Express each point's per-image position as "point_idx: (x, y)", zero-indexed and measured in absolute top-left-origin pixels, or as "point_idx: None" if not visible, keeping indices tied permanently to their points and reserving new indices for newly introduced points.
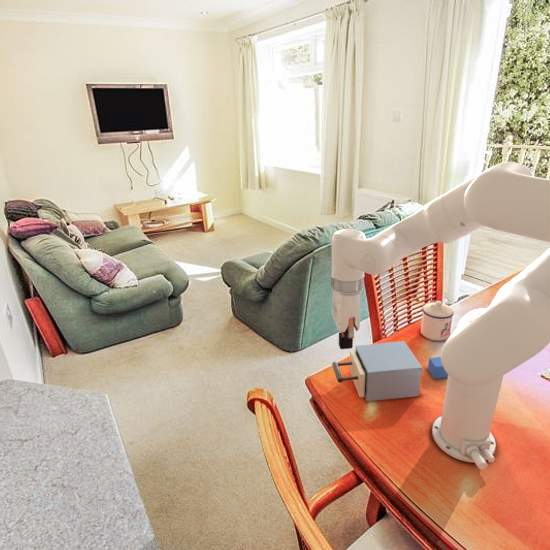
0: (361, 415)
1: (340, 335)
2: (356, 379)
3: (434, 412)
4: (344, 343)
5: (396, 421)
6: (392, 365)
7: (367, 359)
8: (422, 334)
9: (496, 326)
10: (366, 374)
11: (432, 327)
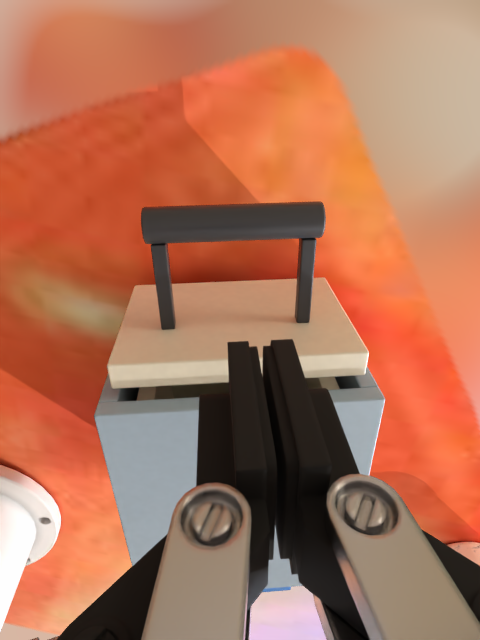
0: (39, 265)
1: (252, 473)
2: (193, 309)
3: (81, 483)
4: (198, 430)
5: (23, 379)
6: (159, 519)
7: None
8: (461, 544)
9: None
10: None
11: None
